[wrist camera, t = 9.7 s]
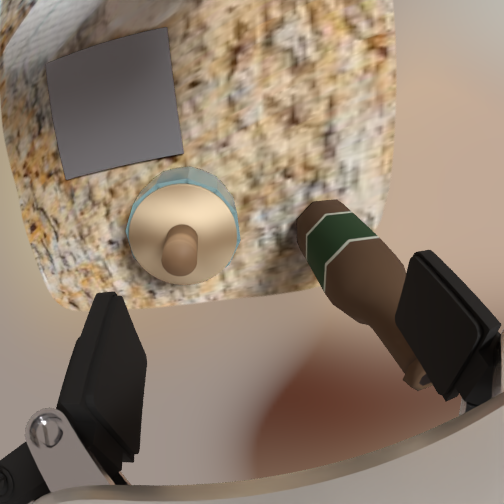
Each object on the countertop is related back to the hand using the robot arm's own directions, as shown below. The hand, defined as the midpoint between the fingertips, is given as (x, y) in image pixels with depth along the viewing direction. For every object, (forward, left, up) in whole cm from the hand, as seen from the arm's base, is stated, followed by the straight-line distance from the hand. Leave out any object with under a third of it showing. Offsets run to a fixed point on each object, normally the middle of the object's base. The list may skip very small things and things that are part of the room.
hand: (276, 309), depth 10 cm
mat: (-8, -11, -26) cm, 29 cm away
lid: (+6, -5, -20) cm, 22 cm away
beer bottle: (+10, +11, -26) cm, 30 cm away
